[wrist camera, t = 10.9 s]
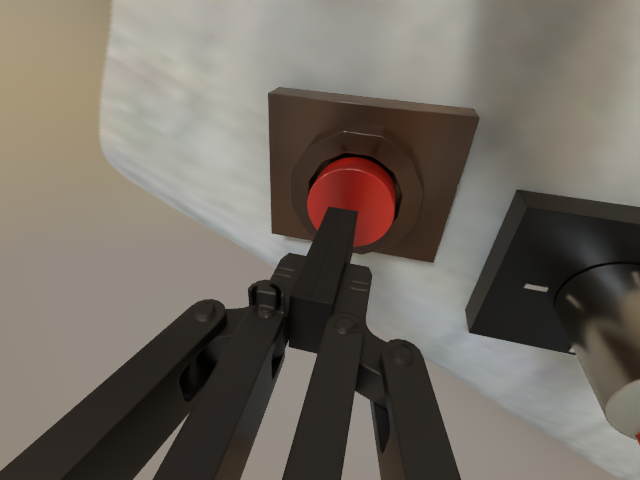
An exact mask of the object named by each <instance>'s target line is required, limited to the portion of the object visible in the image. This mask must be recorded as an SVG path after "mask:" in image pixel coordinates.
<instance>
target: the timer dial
mask: <svg viewBox="0 0 640 480" xmlns="http://www.w3.org/2000/svg"><path fill="white" fill-rule="evenodd" d="M555 310H556V313H557V316H558V318H559V320H560V322H561V324H562V326H563V328H564V330H565V332H566V335H567V337H568V339H569V341H570V343H571V345H572V347H573V349H574V351H575V354H576V356H577V358H578V360H579V362H580V364H581V366H582V368H583V370H584V373H585V375H586V377H587V379H588V381H589V383H590V385H591V387H592V389H593V391H594V394H595V396H596V398H597V400H598V402H599V404H600V406H601V408H602V410H603V413H604V415H605V417H606V419H607V421H608V422H609V423H610V425H611V426H612V427H614V428H615V429H616V430H617V431H619V432H620V433H622V434H624V435H626V436H628V437H630V438H633V439H635V440H638V443H639V444H640V265H635V264H610V265H604V266H599V267H596V268H592V269H590V270H587V271H585V272H583V273H580V274H579V275H577V276H575V277H574V278H572V279H571V280H569V281H568V282H567V283H566V284H565V285H564V286H563V287H562V288H561V290H560V291H559V293H558V294H557V297H556V300H555Z"/></svg>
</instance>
